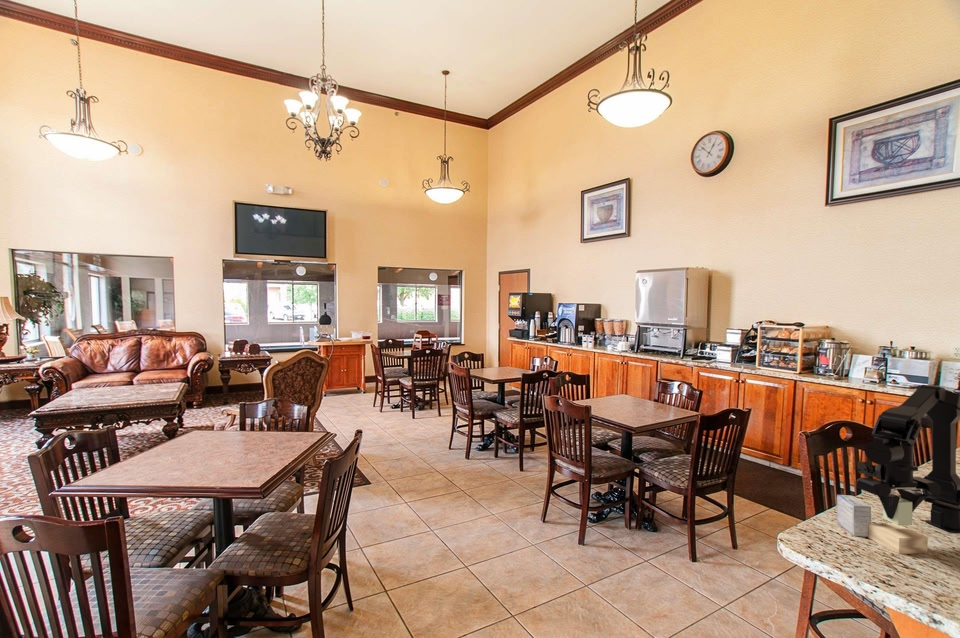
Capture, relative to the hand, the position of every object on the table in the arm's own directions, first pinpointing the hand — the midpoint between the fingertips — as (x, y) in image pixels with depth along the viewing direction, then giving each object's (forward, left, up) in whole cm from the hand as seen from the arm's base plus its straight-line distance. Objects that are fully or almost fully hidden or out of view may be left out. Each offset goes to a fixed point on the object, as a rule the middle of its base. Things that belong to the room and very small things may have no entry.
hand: (897, 518), depth 116 cm
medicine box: (+4, -8, -8) cm, 12 cm away
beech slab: (0, 0, -7) cm, 7 cm away
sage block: (0, 0, -1) cm, 1 cm away
